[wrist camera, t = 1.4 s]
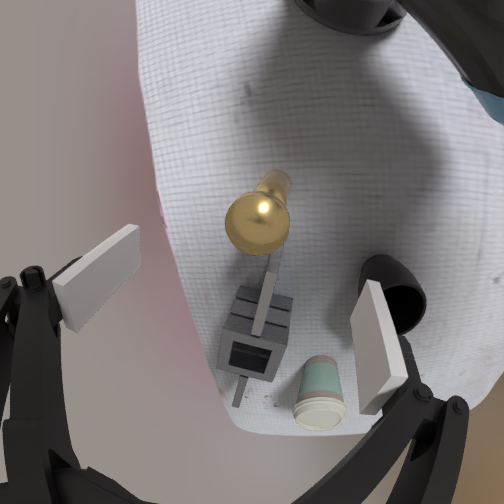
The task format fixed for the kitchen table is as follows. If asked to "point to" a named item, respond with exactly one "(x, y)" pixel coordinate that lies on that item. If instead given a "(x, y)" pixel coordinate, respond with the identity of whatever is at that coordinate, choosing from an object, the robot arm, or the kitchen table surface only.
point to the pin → (261, 216)
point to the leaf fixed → (253, 343)
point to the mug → (396, 291)
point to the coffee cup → (320, 396)
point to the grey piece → (262, 308)
